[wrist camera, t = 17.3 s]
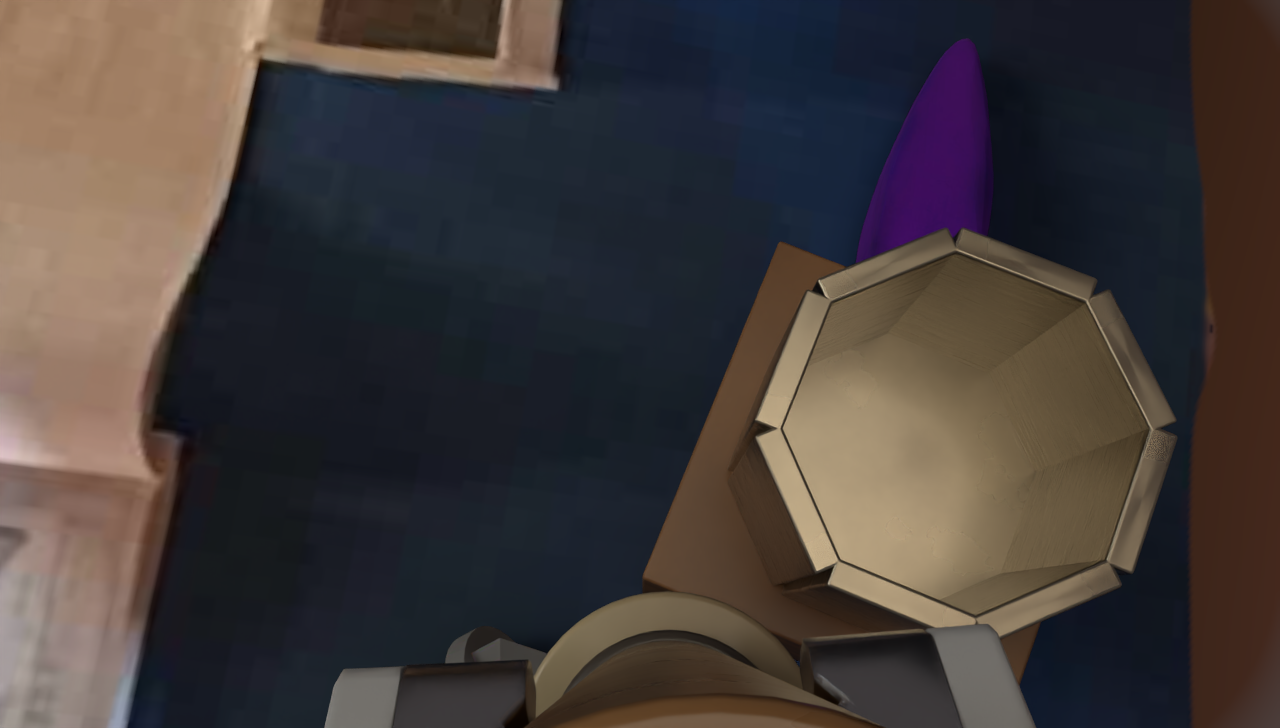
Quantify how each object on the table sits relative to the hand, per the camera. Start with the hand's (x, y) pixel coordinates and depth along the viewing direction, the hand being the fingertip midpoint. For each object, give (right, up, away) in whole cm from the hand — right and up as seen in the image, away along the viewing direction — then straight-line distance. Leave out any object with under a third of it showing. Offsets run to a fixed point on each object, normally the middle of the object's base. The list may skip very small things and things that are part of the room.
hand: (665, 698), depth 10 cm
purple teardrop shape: (+13, +10, +45) cm, 48 cm away
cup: (+6, 0, +22) cm, 23 cm away
